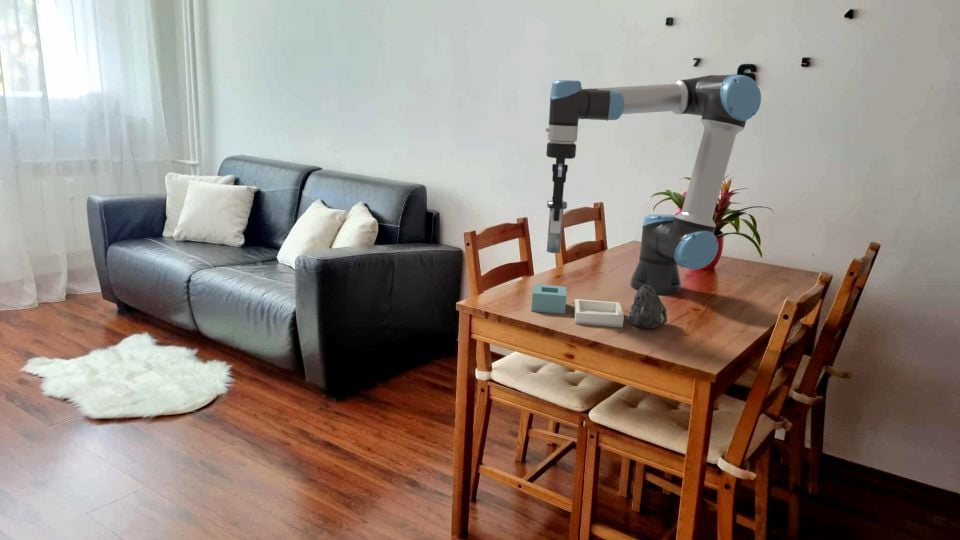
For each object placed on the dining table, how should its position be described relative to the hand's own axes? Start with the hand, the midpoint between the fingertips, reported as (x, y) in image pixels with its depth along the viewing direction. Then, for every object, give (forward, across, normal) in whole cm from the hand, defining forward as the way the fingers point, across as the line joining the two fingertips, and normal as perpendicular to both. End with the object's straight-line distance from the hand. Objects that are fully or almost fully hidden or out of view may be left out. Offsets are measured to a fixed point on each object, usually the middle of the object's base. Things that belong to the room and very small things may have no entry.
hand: (555, 230), depth 180 cm
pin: (+6, 0, 0) cm, 6 cm away
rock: (+22, +9, +26) cm, 35 cm away
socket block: (+22, 0, 0) cm, 22 cm away
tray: (+22, +6, +13) cm, 26 cm away
